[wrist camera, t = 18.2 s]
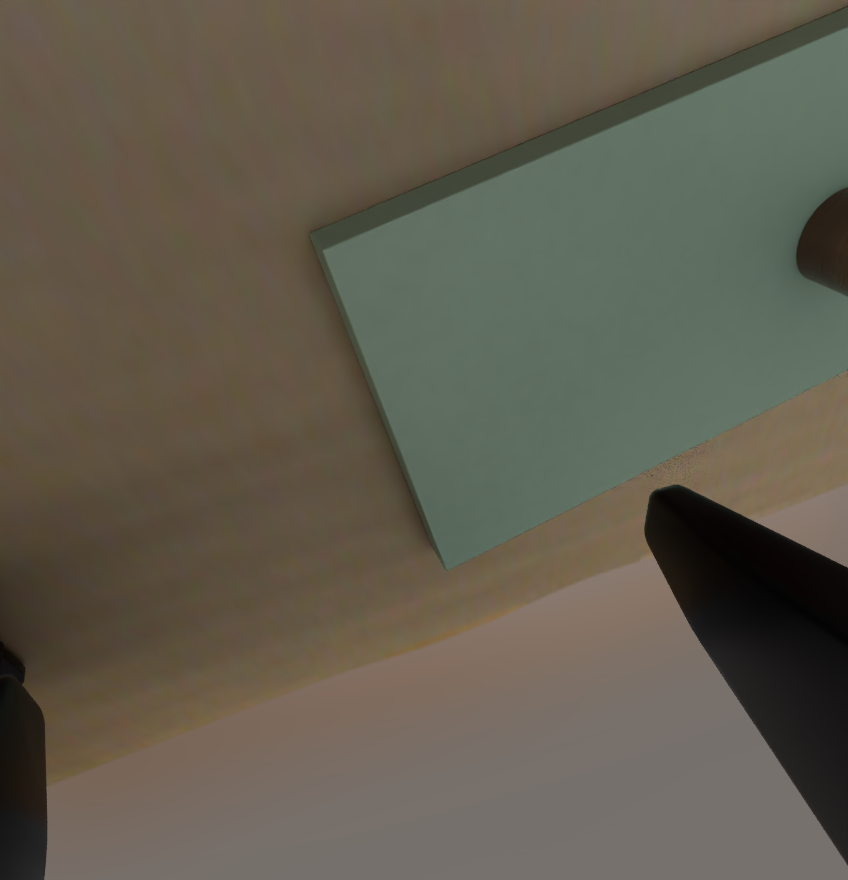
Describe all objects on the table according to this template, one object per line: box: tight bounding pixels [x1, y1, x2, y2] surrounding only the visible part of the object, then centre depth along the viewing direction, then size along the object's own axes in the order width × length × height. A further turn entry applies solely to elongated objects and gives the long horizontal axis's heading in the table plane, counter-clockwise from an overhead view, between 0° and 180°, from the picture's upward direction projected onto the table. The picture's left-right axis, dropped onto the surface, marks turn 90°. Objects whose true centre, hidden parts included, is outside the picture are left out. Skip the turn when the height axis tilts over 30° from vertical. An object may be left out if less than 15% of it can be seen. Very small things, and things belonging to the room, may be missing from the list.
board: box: [310, 7, 848, 571], centre depth 23 cm, size 22×13×2 cm, turn 107°
